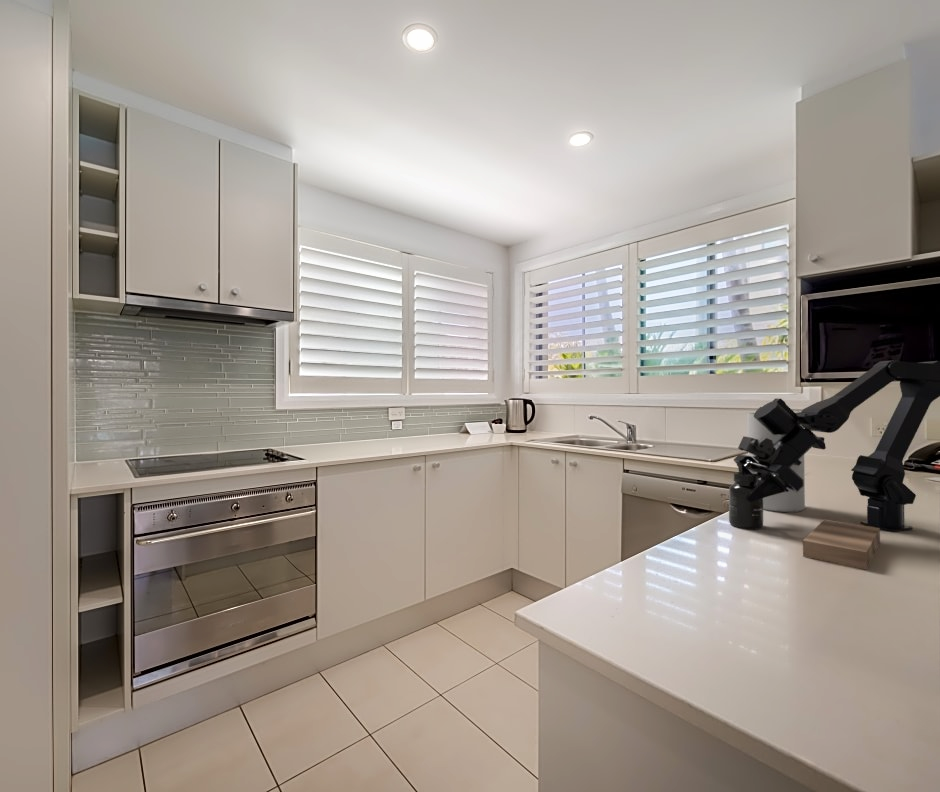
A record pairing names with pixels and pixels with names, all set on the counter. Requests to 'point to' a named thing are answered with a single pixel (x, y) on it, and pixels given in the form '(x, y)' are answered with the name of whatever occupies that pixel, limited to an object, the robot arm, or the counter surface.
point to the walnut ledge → (842, 543)
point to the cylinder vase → (791, 499)
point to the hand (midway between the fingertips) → (739, 497)
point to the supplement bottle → (744, 502)
